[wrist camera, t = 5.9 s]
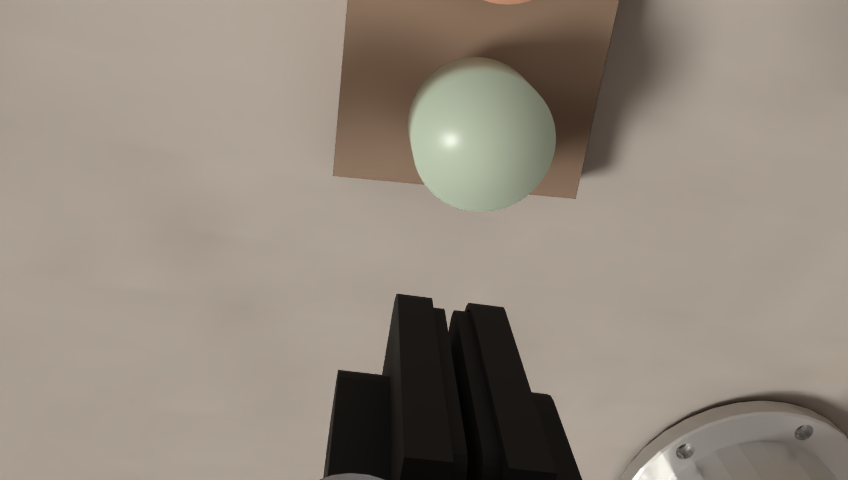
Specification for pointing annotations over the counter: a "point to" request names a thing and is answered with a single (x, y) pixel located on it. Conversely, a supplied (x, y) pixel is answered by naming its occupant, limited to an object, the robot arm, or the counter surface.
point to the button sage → (480, 134)
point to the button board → (456, 39)
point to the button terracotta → (507, 1)
